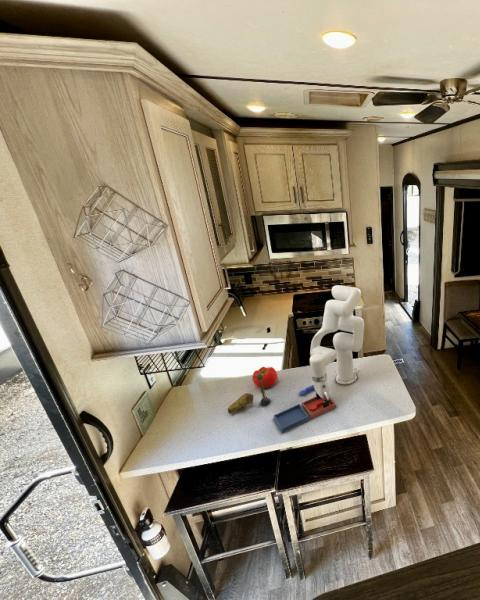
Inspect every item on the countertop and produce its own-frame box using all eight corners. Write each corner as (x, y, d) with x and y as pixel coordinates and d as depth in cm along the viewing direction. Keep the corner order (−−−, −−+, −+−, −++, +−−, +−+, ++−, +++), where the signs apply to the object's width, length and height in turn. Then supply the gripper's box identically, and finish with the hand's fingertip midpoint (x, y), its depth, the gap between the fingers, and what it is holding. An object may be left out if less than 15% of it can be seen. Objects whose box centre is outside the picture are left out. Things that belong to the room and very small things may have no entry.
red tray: (325, 395, 188) (325, 392, 187) (335, 407, 179) (335, 403, 178) (302, 406, 180) (301, 402, 179) (311, 419, 171) (310, 415, 170)
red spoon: (325, 400, 183) (324, 397, 182) (328, 404, 181) (327, 400, 180) (309, 408, 178) (308, 404, 177) (311, 412, 175) (311, 408, 174)
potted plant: (257, 406, 181) (251, 376, 173) (260, 400, 185) (253, 371, 177) (268, 405, 181) (262, 375, 173) (271, 399, 186) (264, 370, 178)
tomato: (280, 377, 205) (278, 363, 200) (274, 391, 193) (271, 376, 188) (258, 378, 204) (255, 364, 200) (251, 392, 192) (247, 377, 188)
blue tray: (300, 407, 180) (299, 403, 179) (309, 420, 171) (308, 416, 170) (274, 419, 172) (273, 415, 171) (282, 433, 163) (281, 429, 162)
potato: (230, 406, 181) (227, 394, 178) (255, 401, 185) (252, 389, 182) (228, 416, 174) (225, 404, 171) (254, 410, 178) (251, 399, 174)
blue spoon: (314, 386, 196) (314, 383, 195) (317, 389, 193) (316, 386, 192) (299, 393, 190) (298, 390, 189) (301, 396, 188) (301, 393, 187)
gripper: (333, 381, 169) (336, 408, 176) (318, 366, 182) (322, 391, 189) (319, 387, 165) (323, 414, 172) (305, 371, 178) (309, 396, 185)
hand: (322, 402), depth 180 cm, fingers open, 8 cm apart
